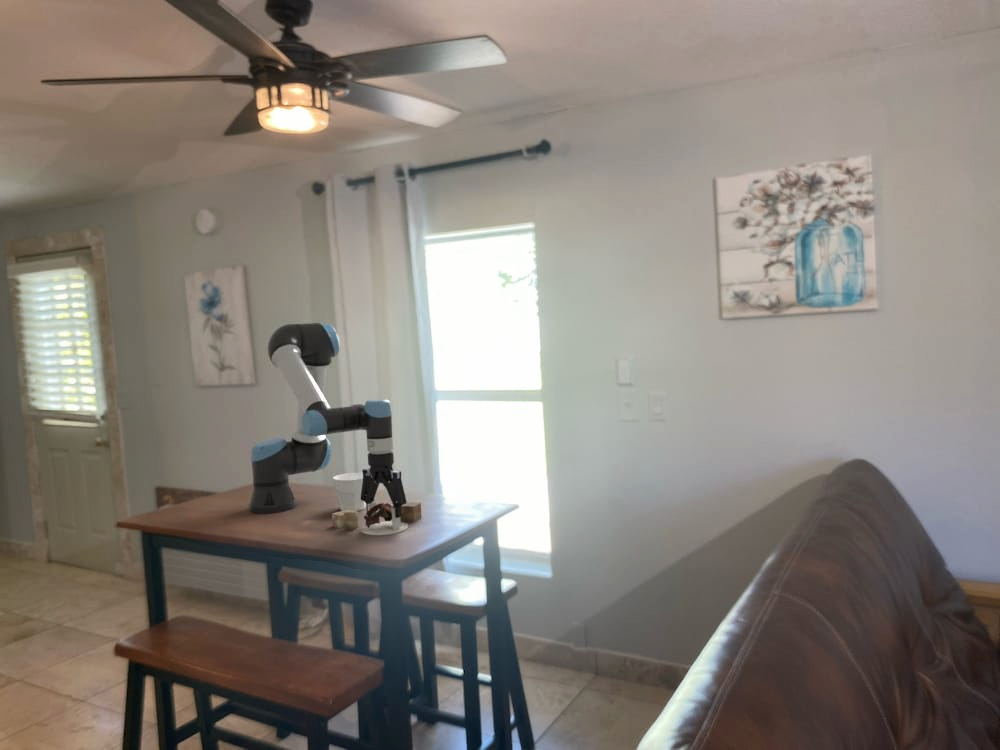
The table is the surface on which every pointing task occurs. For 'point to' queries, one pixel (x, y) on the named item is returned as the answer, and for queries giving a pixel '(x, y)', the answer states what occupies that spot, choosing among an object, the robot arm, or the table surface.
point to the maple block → (339, 519)
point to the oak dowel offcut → (351, 520)
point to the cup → (349, 491)
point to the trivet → (383, 528)
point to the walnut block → (410, 512)
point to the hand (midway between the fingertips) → (384, 526)
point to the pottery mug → (378, 514)
